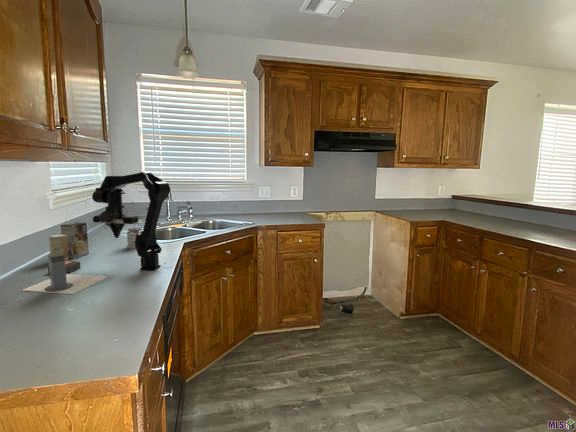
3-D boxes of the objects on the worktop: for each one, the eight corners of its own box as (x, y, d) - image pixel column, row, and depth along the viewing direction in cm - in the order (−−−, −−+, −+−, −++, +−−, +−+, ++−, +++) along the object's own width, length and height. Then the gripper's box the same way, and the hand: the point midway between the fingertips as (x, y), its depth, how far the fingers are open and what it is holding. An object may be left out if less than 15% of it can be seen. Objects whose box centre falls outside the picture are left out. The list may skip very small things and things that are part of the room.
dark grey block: (67, 287, 119) (64, 255, 117) (53, 289, 116) (51, 257, 114) (64, 284, 122) (61, 253, 120) (51, 287, 119) (48, 255, 117)
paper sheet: (107, 277, 131) (107, 276, 131) (73, 294, 114) (73, 293, 113) (62, 274, 134) (62, 273, 134) (22, 290, 116) (21, 289, 116)
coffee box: (78, 252, 167) (76, 221, 164) (89, 253, 165) (87, 222, 163) (62, 257, 158) (60, 224, 155) (74, 258, 156) (71, 225, 154)
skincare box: (53, 263, 148) (51, 237, 146) (50, 261, 151) (47, 235, 149) (69, 260, 153) (67, 235, 151) (66, 258, 156) (64, 233, 154)
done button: (73, 268, 140) (72, 261, 140) (65, 271, 136) (64, 264, 136) (64, 267, 141) (63, 261, 140) (56, 270, 137) (55, 264, 136)
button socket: (80, 268, 142) (80, 261, 141) (65, 274, 134) (65, 267, 134) (63, 267, 143) (63, 260, 142) (48, 273, 135) (47, 266, 135)
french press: (121, 247, 179) (118, 202, 175) (136, 242, 190) (134, 200, 186) (136, 249, 176) (133, 203, 172) (151, 244, 187) (149, 201, 183)
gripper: (82, 205, 139) (85, 240, 142) (123, 206, 137) (125, 242, 139) (100, 202, 150) (102, 235, 153) (138, 203, 148) (139, 237, 150)
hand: (116, 237), depth 149 cm, fingers closed
